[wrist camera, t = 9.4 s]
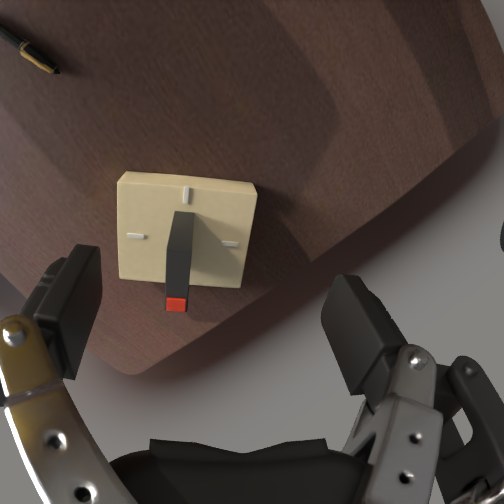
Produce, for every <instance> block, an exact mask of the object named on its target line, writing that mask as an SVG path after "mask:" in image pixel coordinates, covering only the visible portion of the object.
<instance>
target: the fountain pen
mask: <svg viewBox="0 0 504 504" xmlns="http://www.w3.org/2000/svg"><path fill="white" fill-rule="evenodd" d="M0 37H2V38H3V39H4V40H5V41H7V42H8V43H9V44H11V45H12V46H13V47H15V48H16V49H17V50H18V51H19V52H20V54H21V55H22V56H24V57H25V58H27V59H28V60H29V61H31V62H32V63H34V64H35V65H37V66H38V67H40V68H41V69H43V70H45V71H46V72H48V73H52V74H60V71H59V68H58V66H57V65H56V64H55V63H54V62H53V61H52V60H51V59H50V58H49V57H48V56H47V55H46V54H45V53H43V52H42V51H41V50H40V49H38V48H37V47H36V46H35V45H33V44H32V43H31V42H29V41H26V40H25V39H23V38H22V37H21V36H19V35H18V34H16V33H15V32H14V31H12V30H11V29H9V28H8V27H6V26H5V25H3V24H2V23H0Z"/></svg>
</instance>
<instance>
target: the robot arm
mask: <svg viewBox="0 0 504 504" xmlns="http://www.w3.org/2000/svg"><path fill="white" fill-rule="evenodd" d="M101 299H102V273H101V255H100V248H99V247H98V246H89V245H81V244H77V245H76V246H75V247H74V249H73V250H72V252H71V253H70V255H69V256H68V258H63V257H61V258H59V259H58V260H57V261H55V262H54V263H52V264H51V265H50V266H49V267H48V269H47V270H46V272H45V273H44V275H43V277H42V278H41V279H40V281H39V282H38V286H37V285H36V287H35V289H34V290H33V292H32V293H31V295H30V297H29V298H28V300H27V302H26V303H25V305H24V306H23V308H22V310H21V312H20V313H19V314H18V315H11V316H9V317H6V318H4V319H3V320H1V321H0V407H4V409H5V412H6V415H7V418H8V421H9V424H10V427H11V430H12V432H13V435H14V438H15V440H16V443H17V446H18V448H19V451H20V453H21V456H22V458H23V460H24V463H25V465H26V467H27V470H28V472H29V474H30V476H31V478H32V480H33V482H34V484H35V486H36V488H37V490H38V492H39V494H40V496H41V498H42V500H43V502H44V504H429V500H430V496H431V491H432V487H433V482H434V477H435V476H436V479H437V482H438V485H439V488H440V491H441V493H442V496H443V499H444V502H445V504H504V403H503V402H502V400H501V398H500V397H499V395H498V393H497V392H496V390H495V388H494V387H493V385H492V383H491V382H490V380H489V378H488V377H487V375H486V374H485V372H484V371H483V369H482V368H481V366H480V365H479V364H478V363H477V362H476V361H475V360H473V359H472V358H470V357H467V356H458V357H457V358H456V359H455V361H454V362H453V363H452V365H451V366H445V365H440V364H436V361H435V359H434V358H433V356H432V355H431V354H430V353H429V352H428V351H427V350H425V349H424V348H422V347H420V346H417V345H414V344H408V342H407V341H406V339H405V338H404V336H403V334H402V333H401V331H400V330H399V328H398V327H397V325H396V323H395V322H394V320H393V319H391V316H390V314H389V313H388V311H386V308H385V307H384V305H383V304H382V302H381V301H380V299H379V298H378V297H376V296H375V295H374V294H373V293H372V292H371V291H369V290H368V289H367V287H366V286H365V284H364V283H363V281H362V280H361V278H360V277H359V276H355V275H344V274H338V275H337V276H336V277H335V278H334V281H333V283H332V286H331V288H330V291H329V293H328V296H327V298H326V301H325V303H324V305H323V308H322V312H321V323H322V326H323V329H324V331H325V334H326V336H327V338H328V341H329V343H330V345H331V348H332V350H333V353H334V355H335V358H336V360H337V362H338V365H339V367H340V370H341V372H342V375H343V377H344V379H345V382H346V385H347V387H348V390H349V392H350V395H351V396H352V395H362V394H364V395H365V397H366V399H365V400H364V402H363V403H362V405H361V407H360V410H359V413H358V415H357V418H356V420H355V423H354V426H353V428H352V431H351V433H350V435H349V437H348V440H347V442H346V444H345V446H344V448H343V450H342V451H341V452H339V451H335V450H330V449H328V447H327V443H326V440H325V438H323V439H314V440H304V441H291V442H284V443H281V444H278V445H274V446H271V447H267V448H264V449H260V450H256V451H253V452H249V453H237V452H232V451H227V450H223V449H219V448H215V447H211V446H207V445H203V444H199V443H195V442H194V443H193V442H179V441H167V440H156V439H150V446H149V450H143V451H138V452H133V453H130V454H127V455H124V456H121V457H119V458H117V459H115V460H113V461H111V462H110V463H108V461H107V460H106V458H105V456H104V455H103V453H102V452H101V450H100V448H99V447H98V445H97V444H96V442H95V440H94V439H93V437H92V435H91V434H90V432H89V430H88V428H87V427H86V425H85V423H84V421H83V420H82V418H81V416H80V414H79V412H78V410H77V408H76V406H75V405H74V403H73V401H72V399H71V397H70V395H69V393H68V391H67V389H66V387H65V385H64V383H63V381H62V380H63V378H66V379H71V380H75V378H76V375H77V372H78V368H79V365H80V362H81V359H82V356H83V352H84V349H85V346H86V343H87V340H88V337H89V334H90V332H91V329H92V326H93V323H94V320H95V318H96V315H97V312H98V309H99V307H100V304H101ZM461 408H463V410H464V412H465V414H466V416H467V418H468V420H469V422H470V424H471V426H472V429H473V435H472V438H471V440H470V441H469V442H468V443H467V444H466V445H464V443H463V441H462V439H461V437H460V434H459V432H458V430H457V428H456V426H455V424H454V422H453V420H452V417H453V416H454V415H455V414H456V413H457V412H458V411H459V410H460V409H461Z"/></svg>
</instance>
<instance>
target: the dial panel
mask: <svg viewBox="0 0 504 504" xmlns="http://www.w3.org/2000/svg"><path fill="white" fill-rule="evenodd" d="M257 196H258V195H257V192H256V190H255V187H254V185H253V183H249V182H241V181H232V180H223V179H214V178H204V177H194V176H183V175H171V174H158V173H144V172H129V171H126V172H125V174H124V175H123V176H122V177H121V178H120V180H119V181H118V182H117V227H118V256H119V273H120V279H130V280H141V281H152V282H164V283H165V274H166V249H167V244H168V239H169V234H170V230H171V225H172V220H173V216H174V211H182V212H193V213H195V216H194V229H193V244H192V257H191V268H190V280H189V285H202V286H215V287H230V288H240V286H241V281H242V276H243V270H244V265H245V260H246V254H247V249H248V243H249V238H250V233H251V227H252V222H253V217H254V211H255V206H256V201H257Z"/></svg>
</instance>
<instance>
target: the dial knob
mask: <svg viewBox="0 0 504 504" xmlns="http://www.w3.org/2000/svg"><path fill="white" fill-rule="evenodd" d="M194 216H195V213H193V212H182V211H174V216H173V220H172V225H171V230H170V234H169V239H168V244H167V249H166V274H165V310H167V311H179V312H187V307H188V293H189V280H190V268H191V257H192V244H193V229H194Z"/></svg>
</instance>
